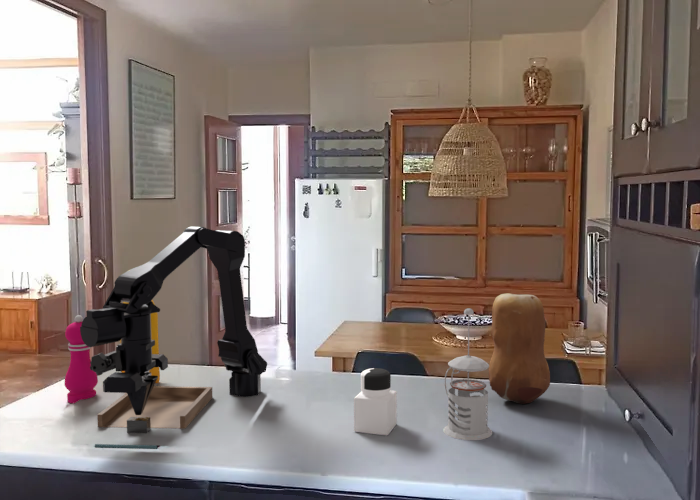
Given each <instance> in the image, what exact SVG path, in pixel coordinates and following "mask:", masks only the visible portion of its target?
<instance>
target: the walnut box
mask: <svg viewBox="0 0 700 500" xmlns="http://www.w3.org/2000/svg"><path fill="white" fill-rule="evenodd" d="M213 398H214V397H213V386H173V385H171V386H170V385H169V386H166V385H162V386H161V385H154V387H153V389H152V391H151V393H150V396H149V398H148V401H147V403H146V406H145V408H144V410H143V413H142V414H141V415H135V412H134V409H133V407H132V404H131V401H130V399H129V396H128V394H127V393H124V394H123V395H121V396H120V397H119V398H117V399H116V400H115V401H113V402H112V403H110V404H109V406H107V407H105V408H104V409H103V410H101V411H100V412H99V413H97V414H96V416H97V417H96V418H97V428H126V429H127V420H128V419H129V418H130V417H150V422H151V429H182V430H184V429H185V430H186V429H187V427H188V426H189V425H190V423H192V422H193V421H194V419H195V418H197V416H198V415H199V414H200V413H201V412H202V410H203V409H204V408H205V407H206V406H207V405H208V403H209V402H210V401H211V400H212V399H213Z"/></svg>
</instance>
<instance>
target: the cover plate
mask: <svg viewBox="0 0 700 500" xmlns="http://www.w3.org/2000/svg"><path fill="white" fill-rule="evenodd" d="M151 430H152V428H151V422H150V417H130V418H129V419H128V420H127V428H126V433H128V434H131V433H132V434H135V433H136V434H148V433H149V432H150V431H151ZM160 447H161V445H155V444H154V445H152V444H151V445H150V444H145V445H144V444H143V445H142V444H109V443H106V444H105V443H104V444H103V443H94V449H130V450H131V449H132V450H133V449H134V450H157V449H159V448H160Z"/></svg>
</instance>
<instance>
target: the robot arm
mask: <svg viewBox="0 0 700 500" xmlns="http://www.w3.org/2000/svg"><path fill="white" fill-rule="evenodd" d="M201 248H202V249H206V250H207V254H208V257H209V260H210V262H211V263H212V264H213V266H214V268H215V270H216V271H217V275H218V281H219V289H220V291H219V292H220V298H221V305H222V314H223V322H224V334H223V336H222V338H220V339H218V340H217V342H216V344H217V347H218V354H217V355H218V357H219V358H220V360H221V362H222V363H224V367H225V369H226V371H227V372H229V371H230V372H231V373H230V374H231V376H230V377H229V382H228V383H229V387H228V388H229V389H228V390H229V395H230V396H236V397H240V398H241V397H242V398H245V397H246V398H247V397H248V398H249V397H254V396H259V395H260V393H261V382H262V381H261V378H262V377H261V375H262V374H263V373H265V372H266V371H267V368H268V367H267V366H268V362H267V360H266V359H264V358H263V356H261V355H260V353H259V351H258V347H257V344H256V339H255V338H254V336H253V335H252V334H251V332H250V331H249V329H248V326H247V317H246V309H245V308H246V306H245V299H244V291H243V284H242V283H243V281H242V275H241V266H242V264H243V262H244V260H245V257H246V240H245V236H244V235H243V234H242V233H241V232H239V231H237V230H224V229H223V230H222V229H215V230H213V229H209V228H206V227H204V226H189V227H187V228H185V229H183V232H182V233H181V234H180V235H179V236H178V237H176V238H175V239H174V240H172V242H171V243H169V244H168V245H167V246H165V247H164V248H163V249H162V250H160V251H159V252H158V253H157V254H156V255H154V256H153V257H152V258H151V259H150V260H149V261H147V262H145V263H144V264H141V265H138V266H136V267H133V268H131V269H128V270H129V271H128V270H126V271H125V272H123V273H122V274H120V275H118V277H117V278H116V279H115V281H114V286H113V289H112V290H111V292H110V294H109V295H108V297H107V299H106V301H105V302H104V304H103V305H102V308H99V309H93V308H92V309H87V310H86V311H85V314H86V315H85V317H84V318H83V320H82V325H81V327H80V333H81V337H82V340H83V342H84V343H85V344H86V345H87V346H88V347H91V348H93V347H98V346H102V345H108V344H112V343H113V344H114V343H117V342H118V343H119V342H120V340H121V343H119V344H117V345H116V347H115V350H113V351H110V352H108V353H105V354H104V353H103V352H100V353H98V354H94V355H93V356H91V357H90V360H91V362H90V364H91V366H90V369H91V370H93V371H94V372H96V374H97V377H98V376H101V375H103V374H104V373H106V372H109V371H112V370H115V372H113V373H111V374H110V375H109V376H106V378H105V379H104V380H103V381H102V392H103V393H109V394H110V393H114V394H115V393H118V394H119V393H120V394H123V393H124V394H126V393H127V394H128V396H129V399H130V401H131V404H132V407H133V409H134V412H135V415H141V414H142V413H143V410H144V408H145V406H146V403H147V401H148V398H149V396H150V393H151V391H152V389H153V387H154V386H155V384H156V383H155V382H156V380H157V379H158V376H151V372H149V370H151V369H152V368H154V367H159V370H160V371H165V370H166V369H167V368H169V360H168V357H167V356H166V355H165V354H163V353H161V354H160V353H159V354H152V347H153V346H154V345H155V340H151V313H156V312H157V313H160V312H161V308H159V307H158V306H157V305H156V304H155V303H154V304H155V305H154V304H153V302H154V301H153V302H152V300H153V299H155V297H156V296H157V295H158V293H159V292H160V291H161V290H162V286H163V283H164V281H165V280H166V279H167V278H168V277H169V275H172V273H174V272H175V271H176V269H178V268H179V267H180V266H181V265H183V263H184V262H186V261H187V260H189V258H190V257H191V256H192V255H194V254H195V253H196V252H197V251H198V250H200V249H201ZM123 302H127V303H129V304H126V303H123ZM122 371H125V372H122Z"/></svg>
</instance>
